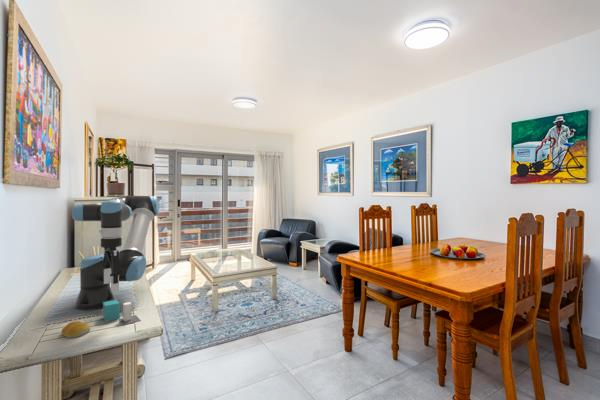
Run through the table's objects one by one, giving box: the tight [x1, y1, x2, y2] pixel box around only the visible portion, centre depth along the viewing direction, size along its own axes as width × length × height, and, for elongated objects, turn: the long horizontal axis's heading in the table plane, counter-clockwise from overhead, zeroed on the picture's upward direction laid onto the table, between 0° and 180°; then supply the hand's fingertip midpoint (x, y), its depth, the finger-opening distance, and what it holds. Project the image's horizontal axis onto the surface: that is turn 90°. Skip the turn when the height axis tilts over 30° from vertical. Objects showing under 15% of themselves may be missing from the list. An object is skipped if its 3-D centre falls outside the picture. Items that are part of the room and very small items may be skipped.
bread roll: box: [61, 320, 91, 339], centre depth 114 cm, size 8×9×4 cm
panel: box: [118, 315, 141, 326], centre depth 126 cm, size 7×6×1 cm
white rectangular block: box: [122, 301, 133, 321], centre depth 126 cm, size 3×3×7 cm
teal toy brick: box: [102, 299, 121, 322], centre depth 128 cm, size 5×5×7 cm
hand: (111, 287), depth 127 cm, fingers open, 13 cm apart
